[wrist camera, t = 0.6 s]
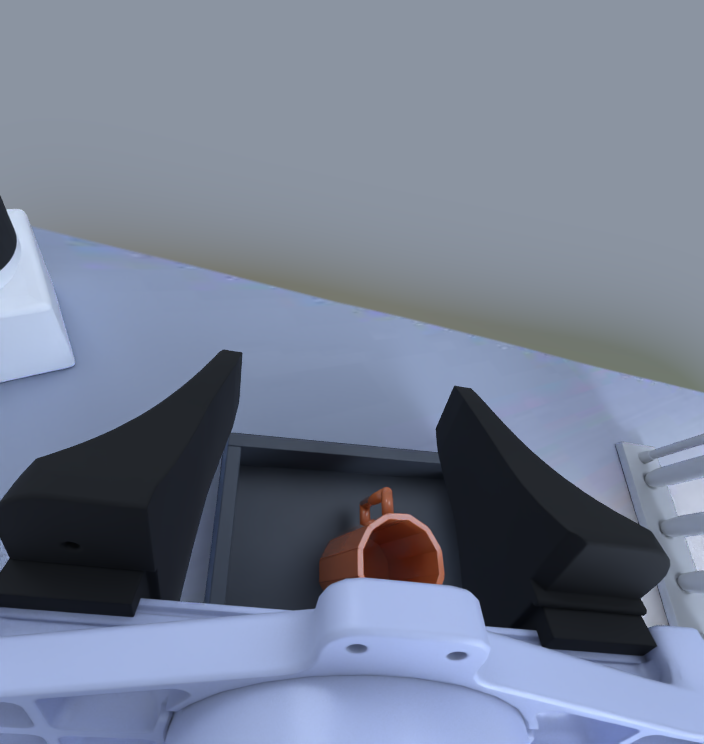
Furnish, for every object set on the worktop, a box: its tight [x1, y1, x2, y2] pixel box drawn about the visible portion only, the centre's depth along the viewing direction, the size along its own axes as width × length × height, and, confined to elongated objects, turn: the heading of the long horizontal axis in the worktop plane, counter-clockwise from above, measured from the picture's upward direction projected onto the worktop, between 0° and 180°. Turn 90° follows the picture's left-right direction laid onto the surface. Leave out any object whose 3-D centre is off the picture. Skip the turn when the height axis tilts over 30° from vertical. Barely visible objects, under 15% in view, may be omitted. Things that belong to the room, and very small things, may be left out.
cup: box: [319, 487, 445, 592], centre depth 26 cm, size 7×5×7 cm
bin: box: [204, 433, 462, 611], centre depth 27 cm, size 15×19×4 cm
